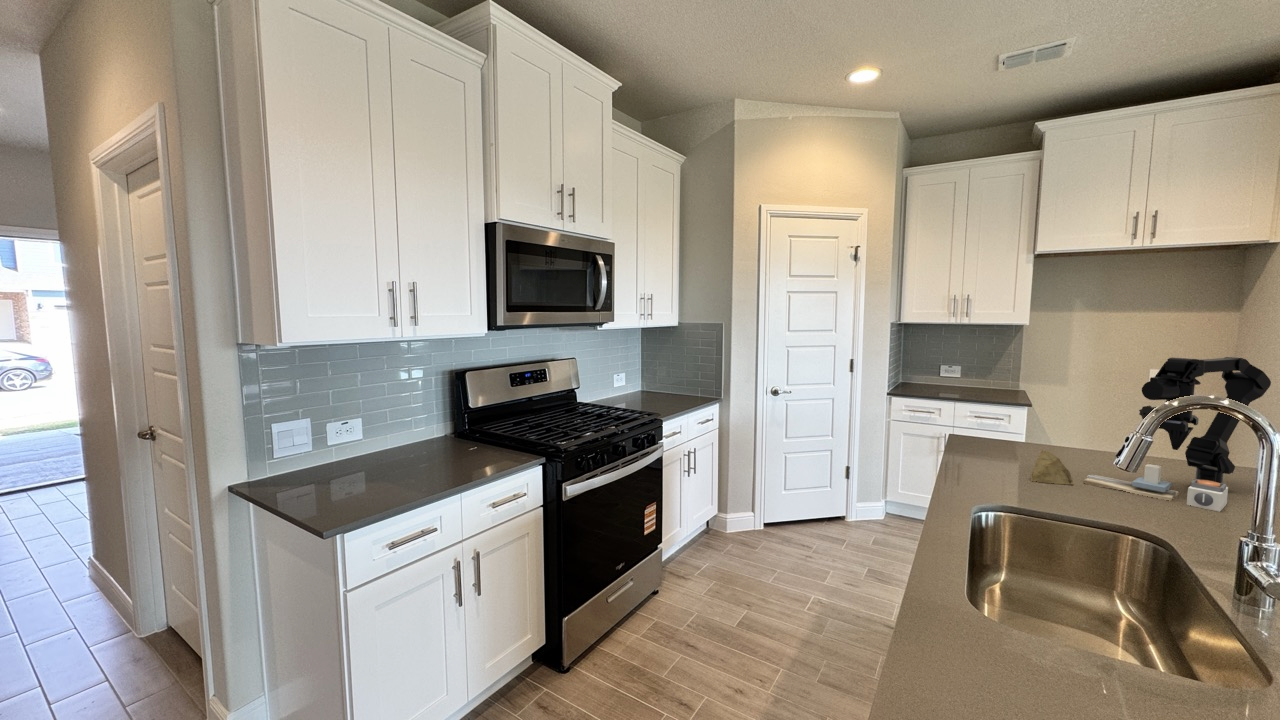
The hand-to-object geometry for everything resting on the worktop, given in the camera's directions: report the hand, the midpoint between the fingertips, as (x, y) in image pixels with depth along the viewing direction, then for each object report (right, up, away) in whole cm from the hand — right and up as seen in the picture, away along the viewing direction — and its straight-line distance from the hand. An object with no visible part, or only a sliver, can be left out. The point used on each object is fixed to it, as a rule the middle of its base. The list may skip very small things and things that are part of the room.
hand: (1175, 449), depth 158 cm
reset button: (-2, -9, -11) cm, 14 cm away
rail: (-11, -13, +3) cm, 17 cm away
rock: (-30, -13, +10) cm, 34 cm away
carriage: (-8, -11, -1) cm, 14 cm away
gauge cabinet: (-2, -14, -10) cm, 17 cm away
